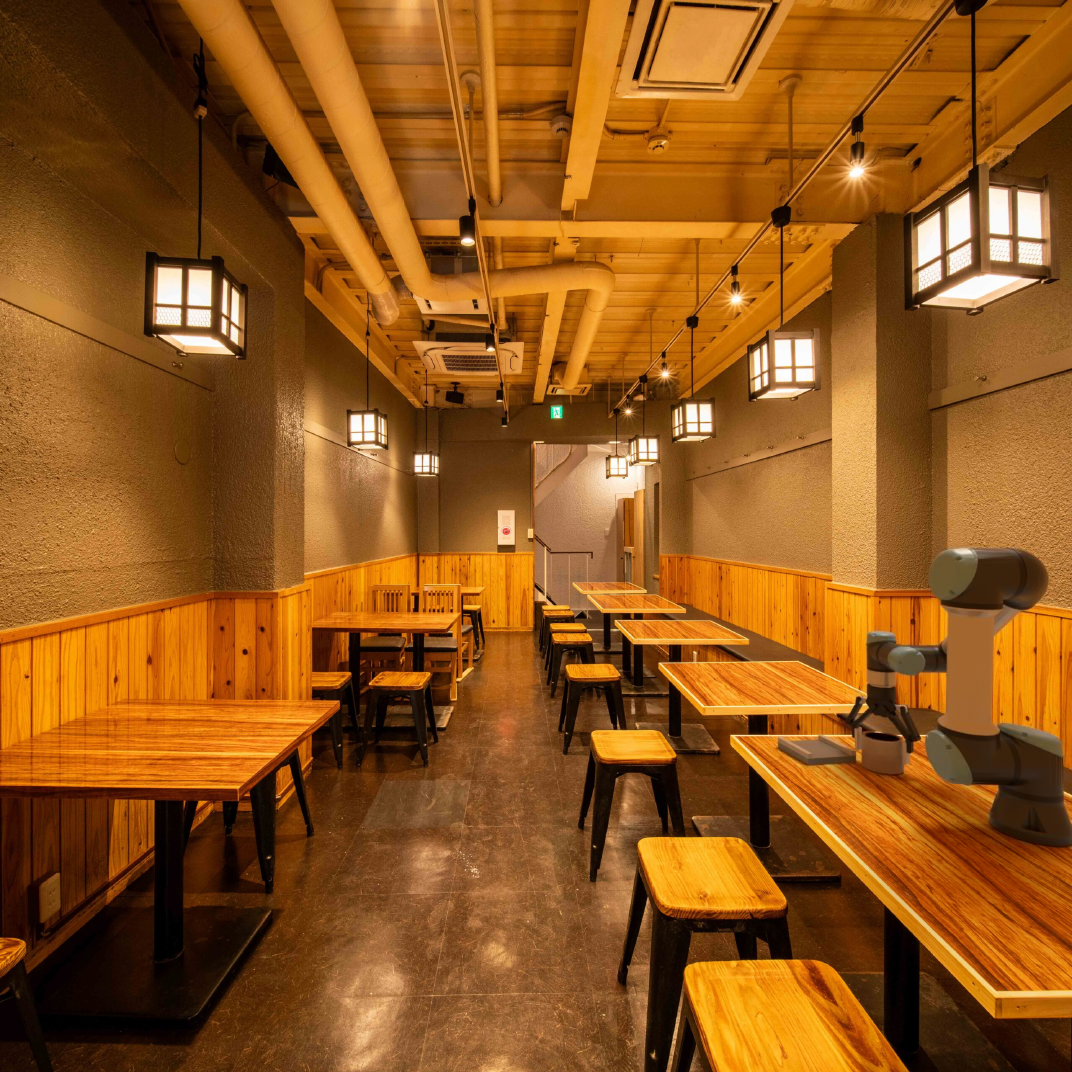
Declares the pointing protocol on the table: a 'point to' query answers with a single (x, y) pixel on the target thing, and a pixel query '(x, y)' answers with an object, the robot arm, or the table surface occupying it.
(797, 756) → the grey square tray
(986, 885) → the table surface
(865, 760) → the planter
